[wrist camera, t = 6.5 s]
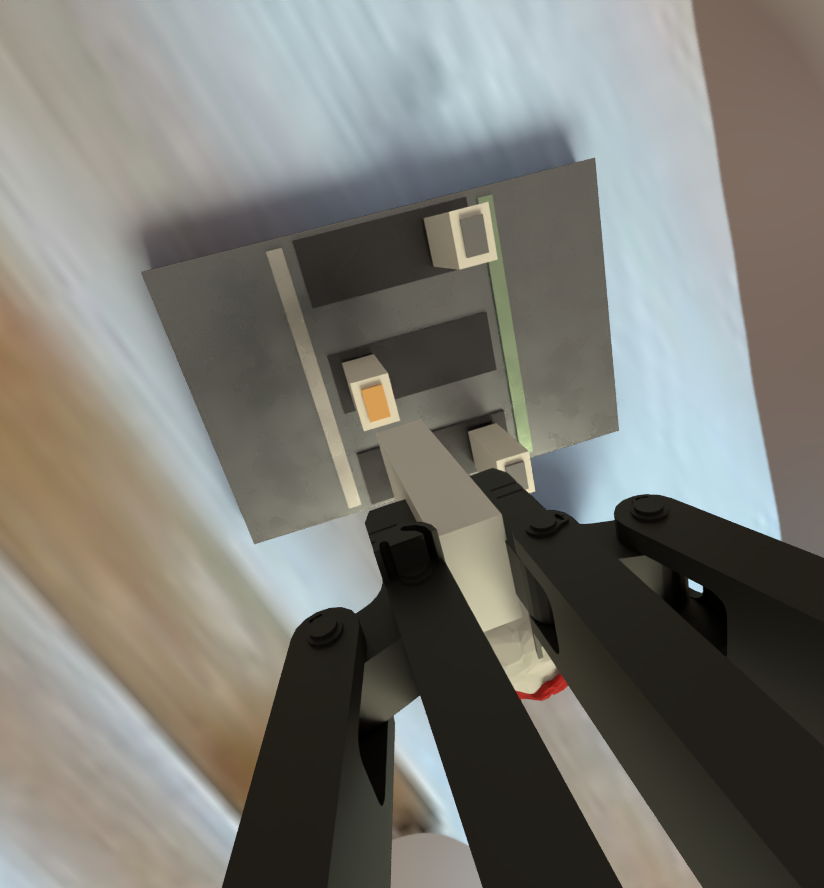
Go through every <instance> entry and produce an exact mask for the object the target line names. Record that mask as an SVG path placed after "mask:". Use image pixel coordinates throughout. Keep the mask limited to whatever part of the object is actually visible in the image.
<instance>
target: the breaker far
mask: <svg viewBox="0 0 824 888" xmlns="http://www.w3.org/2000/svg"><path fill="white" fill-rule="evenodd" d="M468 434H469V439H470V444H471V448H472V453H473V458H474V463H475V467H476V468H477V470H478V471H479V472H482V471H485V470H488V469H491V468H495V469H498V470H501V471H504V472H507V473H508V474H510V475H511V476H512V477H513V478H514V479H515V480H516V482H517V483H519V484H520V485H521V486H522V487H523V488H524V490H526V491H527V492H528V493H532V492H535V486H534V480H533V474H532V468H531V462H530V455H529V451H528V450H527V449H526V448H525V447H523V446H522V445H521V444H520V443H519V442H518V441H516V440H515V439H514V438H513V437H512V436H511V435H509V434H508V433H507V432H506V431H505V430H504V429H502V428H501V427H500V426H499V425H498V424H497V423H495V424H492V425H488V426H485V427H482V428H478V429H475V430H472V431H469V432H468Z"/></svg>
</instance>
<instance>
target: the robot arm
mask: <svg viewBox="0 0 824 888" xmlns="http://www.w3.org/2000/svg"><path fill="white" fill-rule="evenodd" d="M376 436H377V440H378V443H379V447H380V450H381V453H382V457H383V460H384V464H385V467H386V470H387V474H388V477H389V480H390V484H391V487H392V491H393V494H394V497H395V501H396V502H395V503H392V504H389V505H386V506H383V507H380V508H377V509H374V510H371V511H369V513H368V516H367V519H366V521H365V525H366V528H367V531H368V534H369V538H370V541H371V544H372V547H373V550H374V555H375V558H376V561H377V564H378V567H379V570H380V573H381V576H382V581H383V584H382V588H381V590H380V592H379V594H378V595H377V597H376V598H375V599H374V600H373V601H372V602H371V603H370V604H369V605H367V606H366V607H365V608H363V609H362V610H360V611H359V612H357V613H356V614H355V613H354V612H353V611H352V610H349V609H346V608H343V607H337V608H328V609H325V610H322V611H319V612H317V613H315V614H313V615H312V616H310V617H308V618H307V619H305V620H304V621H303V622H302V623H301V624H300V625H299V626H298V627H297V628H296V630H295V632H294V634H293V636H292V638H291V641H290V645H289V648H288V652H287V656H286V659H285V663H284V666H283V670H282V673H281V677H280V681H279V684H278V688H277V691H276V695H275V699H274V702H273V706H272V709H271V713H270V717H269V720H268V724H267V727H266V731H265V735H264V738H263V742H262V745H261V749H260V753H259V756H258V760H257V763H256V767H255V770H254V774H253V778H252V781H251V785H250V788H249V792H248V796H247V799H246V803H245V806H244V810H243V814H242V817H241V821H240V824H239V828H238V832H237V835H236V839H235V842H234V846H233V850H232V853H231V857H230V860H229V864H228V868H227V871H226V875H225V878H224V882H223V885H222V888H390V886H391V884H390V883H391V850H392V813H393V777H394V741H395V721H394V715H395V714H396V713H397V712H399V711H400V710H401V709H403V708H404V707H405V706H407V705H408V704H409V703H411V702H412V701H413V700H414V699H416V698H417V697H418V696H421V699H422V702H423V705H424V708H425V711H426V714H427V717H428V720H429V724H430V727H431V730H432V733H433V736H434V739H435V742H436V745H437V748H438V751H439V754H440V757H441V761H442V764H443V767H444V770H445V773H446V776H447V779H448V782H449V785H450V788H451V791H452V794H453V797H454V801H455V804H456V807H457V810H458V813H459V816H460V819H461V822H462V825H463V828H464V831H465V834H466V837H467V841H468V844H469V847H470V850H471V853H472V856H473V859H474V862H475V865H476V868H477V871H478V874H479V877H480V881H481V884H482V887H483V888H623V887H622V885H621V884H620V882H619V880H618V878H617V876H616V874H615V873H614V871H613V869H612V867H611V865H610V863H609V862H608V860H607V858H606V856H605V854H604V852H603V851H602V849H601V847H600V845H599V843H598V841H597V840H596V838H595V836H594V834H593V832H592V830H591V829H590V827H589V825H588V823H587V821H586V819H585V818H584V816H583V814H582V812H581V810H580V808H579V807H578V805H577V803H576V801H575V799H574V797H573V796H572V794H571V792H570V790H569V788H568V786H567V784H566V783H565V781H564V779H563V777H562V775H561V773H560V772H559V770H558V768H557V766H556V764H555V762H554V761H553V759H552V757H551V755H550V753H549V751H548V750H547V748H546V746H545V744H544V742H543V740H542V739H541V737H540V735H539V733H538V731H537V729H536V728H535V726H534V724H533V722H532V720H531V718H530V717H529V715H528V713H527V711H526V709H525V707H524V706H523V704H522V702H521V700H520V698H519V696H518V695H517V693H516V691H515V689H514V687H513V685H512V683H511V682H510V680H509V678H508V676H507V674H506V672H505V671H504V669H503V667H502V665H501V663H500V661H499V660H498V658H497V656H496V654H495V652H494V650H493V649H492V647H491V645H490V643H489V641H488V639H487V638H486V636H485V634H484V632H485V631H488V630H490V629H493V628H496V627H498V626H501V625H503V624H506V623H509V622H511V621H514V620H517V619H519V618H522V617H523V616H522V611H521V606H520V601H521V602H522V603H523V605H524V606H525V608H526V609H527V611H528V614H529V619H530V624H531V629H532V634H533V639H534V644H535V649H536V653H537V656H538V659H541V658H543V653H542V646H543V648H544V649H545V651H546V652H547V654H548V655H549V657H550V658H551V660H552V661H553V663H554V664H555V666H556V668H557V669H558V671H559V672H560V674H561V675H562V677H563V678H564V680H565V681H566V683H567V684H568V686H569V687H570V689H571V690H572V692H573V693H574V695H575V696H576V698H577V699H578V701H579V702H580V704H581V705H582V707H583V708H584V710H585V711H586V713H587V714H588V716H589V717H590V719H591V720H592V722H593V723H594V725H595V726H596V728H597V729H598V731H599V732H600V734H601V735H602V737H603V738H604V740H605V741H606V743H607V744H608V746H609V747H610V749H611V750H612V752H613V753H614V755H615V756H616V758H617V759H618V761H619V762H620V764H621V765H622V767H623V768H624V770H625V771H626V773H627V774H628V776H629V777H630V779H631V780H632V782H633V783H634V785H635V786H636V788H637V789H638V791H639V792H640V794H641V795H642V797H643V798H644V800H645V801H646V803H647V804H648V806H649V807H650V809H651V810H652V812H653V813H654V815H655V816H656V818H657V819H658V821H659V822H660V824H661V825H662V827H663V828H664V830H665V832H666V833H667V835H668V836H669V838H670V839H671V841H672V842H673V844H674V845H675V847H676V848H677V850H678V851H679V853H680V854H681V856H682V857H683V859H684V860H685V862H686V863H687V865H688V866H689V868H690V869H691V871H692V872H693V874H694V875H695V877H696V878H697V880H698V881H699V883H700V884H701V886H702V887H703V888H824V558H823V557H820V556H818V555H815V554H812V553H810V552H807V551H805V550H802V549H800V548H797V547H794V546H792V545H790V544H787V543H784V542H782V541H779V540H777V539H774V538H772V537H769V536H767V535H764V534H762V533H759V532H756V531H754V530H751V529H749V528H746V527H744V526H741V525H739V524H736V523H734V522H731V521H728V520H726V519H723V518H721V517H718V516H716V515H713V514H711V513H708V512H706V511H703V510H700V509H698V508H695V507H693V506H690V505H688V504H685V503H683V502H680V501H678V500H675V499H672V498H669V497H665V496H661V495H649V494H644V495H637V496H633V497H630V498H628V499H625V500H623V501H621V502H620V503H619V504H618V505H617V506H616V508H615V511H614V519H615V520H613V521H606V522H599V523H591V524H579V523H578V522H577V521H576V520H575V519H574V518H573V517H571V516H569V515H568V514H566V513H564V512H560V511H556V510H546V509H545V508H544V507H543V506H542V505H541V504H540V503H539V502H538V501H536V500H535V499H534V498H533V497H532V496H531V495H530V494H529V493H528V492H527V491H526V490H524V488H523V487H522V486H521V485H520V484H519V483H517V482H516V480H515V479H514V478H513V477H512V476H511V475H510V474H508V473H507V472H504V471H501V470H498V469H495V468H491V469H488V470H485V471H482V472H479V473H476V474H473V475H470V476H469V475H468V474H467V473H466V472H465V470H464V469H463V468H462V467H461V466H460V465H459V463H458V462H457V461H456V460H455V459H454V458H453V456H452V455H451V454H450V453H449V452H448V450H447V449H446V448H445V447H444V446H443V445H442V443H441V442H440V441H439V440H438V439H437V438H436V436H435V435H434V434H433V433H432V432H431V430H430V429H429V428H428V427H427V426H426V425H425V423H424V422H423V421H422V420H421V419H419V420H416V421H413V422H410V423H407V424H404V425H401V426H398V427H394V428H391V429H388V430H385V431H382V432H379V433H376ZM688 578H689V579H690V580H692V581H694V582H696V583H698V584H700V585H702V586H703V593H700V592H697V591H695V590H693V589H691V588H689V586H688ZM519 599H520V601H519Z"/></svg>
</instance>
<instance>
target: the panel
mask: <svg viewBox="0 0 824 888" xmlns="http://www.w3.org/2000/svg"><path fill="white" fill-rule="evenodd" d="M486 202H488V203H489V209H490V215H491V221H492V227H493V233H494V240H495V246H496V252H497V258H498V260H494V261H490V262H486V263H483V264H479V265H475V266H471V267H468V268H464V269H460V270H458V269H450V268H441V267H434V266H433V261H432V256H431V252H430V247H429V242H428V237H427V232H426V228H425V223H424V218H427V217H431V216H435V215H439V214H443V213H447V212H450V211H454V210H458V209H462V208H466V207H470V206H474V205H478V204H482V203H486ZM141 273H142V276H143V278H144V280H145V283H146V285H147V288H148V290H149V292H150V295H151V297H152V300H153V302H154V304H155V307H156V309H157V312H158V314H159V316H160V319H161V321H162V324H163V326H164V328H165V331H166V333H167V336H168V338H169V340H170V343H171V345H172V348H173V350H174V352H175V355H176V357H177V360H178V362H179V364H180V367H181V369H182V372H183V374H184V376H185V379H186V381H187V384H188V386H189V388H190V391H191V393H192V396H193V398H194V400H195V403H196V405H197V408H198V410H199V412H200V415H201V417H202V420H203V422H204V424H205V427H206V429H207V432H208V434H209V436H210V439H211V441H212V444H213V446H214V448H215V451H216V453H217V456H218V458H219V460H220V463H221V465H222V468H223V470H224V472H225V475H226V477H227V480H228V482H229V484H230V487H231V489H232V492H233V494H234V496H235V499H236V501H237V504H238V506H239V508H240V511H241V513H242V516H243V518H244V520H245V523H246V525H247V528H248V530H249V532H250V535H251V537H252V540H253V542H254V544H257V543H260V542H263V541H266V540H270V539H273V538H276V537H279V536H282V535H286V534H289V533H292V532H295V531H298V530H302V529H305V528H308V527H311V526H314V525H318V524H321V523H324V522H327V521H330V520H334V519H337V518H340V517H343V516H346V515H350V514H353V513H356V512H359V511H362V510H366V509H369V508H372V507H375V506H378V505H382V504H385V503H388V502H391V501H394V500H395V497H394V494H393V491H392V487H391V484H390V480H389V477H388V474H387V470H386V467H385V464H384V460H383V457H382V453H381V450H380V447H379V443H378V440H377V436H376V433H379V432H382V431H385V430H388V429H391V428H394V427H398V426H401V425H404V424H407V423H410V422H413V421H416V420H419V419H421V420H422V421H423V422H424V423H425V425H426V426H427V427H428V428H429V429H430V430H431V432H432V433H433V434H434V435H435V436H436V438H437V439H438V440H439V441H440V442H441V443H442V445H443V446H444V447H445V448H446V449H447V450H448V452H449V453H450V454H451V455H452V456H453V458H454V459H455V460H456V461H457V462H458V463H459V465H460V466H461V467H462V468H463V469H464V470H465V472H466V473H467V474H468V475H469V476H470V475H473V474H476V473H479V471H478V470H477V468H476V467H475V463H474V458H473V453H472V448H471V444H470V439H469V434H468V432H469V431H472V430H475V429H478V428H482V427H485V426H488V425H492V424H495V423H497V424H498V425H499V426H500V427H501V428H502V429H504V430H505V431H506V432H507V433H508V434H509V435H511V436H512V437H513V438H514V439H515V440H516V441H518V442H519V443H520V444H521V445H522V446H523V447H525V448H526V449H527V450H528V451H529V455H530V458H532V457H535V456H538V455H542V454H545V453H548V452H551V451H554V450H558V449H561V448H564V447H567V446H570V445H574V444H577V443H580V442H583V441H586V440H590V439H593V438H596V437H599V436H602V435H606V434H609V433H612V432H615V431H619V426H618V415H617V403H616V392H615V380H614V369H613V358H612V346H611V335H610V323H609V312H608V300H607V289H606V278H605V266H604V255H603V243H602V232H601V220H600V209H599V198H598V186H597V175H596V163H595V158H592V159H588V160H584V161H580V162H576V163H572V164H568V165H564V166H560V167H556V168H552V169H548V170H544V171H541V172H537V173H533V174H529V175H525V176H521V177H517V178H513V179H509V180H505V181H501V182H497V183H493V184H489V185H485V186H481V187H477V188H473V189H469V190H465V191H461V192H457V193H453V194H449V195H445V196H441V197H437V198H433V199H429V200H425V201H421V202H417V203H414V204H410V205H406V206H402V207H398V208H394V209H390V210H386V211H382V212H378V213H374V214H370V215H366V216H362V217H358V218H354V219H350V220H346V221H342V222H338V223H334V224H330V225H326V226H322V227H318V228H314V229H310V230H306V231H302V232H298V233H294V234H290V235H286V236H283V237H279V238H275V239H271V240H267V241H263V242H259V243H255V244H251V245H247V246H243V247H239V248H235V249H231V250H227V251H223V252H219V253H215V254H211V255H207V256H203V257H199V258H195V259H191V260H187V261H183V262H179V263H175V264H171V265H167V266H163V267H159V268H156V269H152V270H148V271H144V272H141ZM372 354H374V355H375V357H376V358H377V359H378V361H379V362H380V363H381V365H382V366H383V367H384V369H385V370H386V371H387V373H388V376H389V380H390V383H391V387H392V391H393V395H394V399H395V403H396V406H397V410H398V414H399V418H400V421H397V422H394V423H390V424H387V425H384V426H380V427H377V428H374V429H370V430H367V431H364V430H363V428H362V425H361V422H360V420H359V417H358V414H357V411H356V409H355V406H354V403H353V400H352V396H351V393H350V390H349V386H348V383H347V379H346V376H345V373H344V369H343V366H342V363H344V362H348V361H351V360H355V359H358V358H362V357H365V356H369V355H372Z"/></svg>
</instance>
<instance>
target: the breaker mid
mask: <svg viewBox="0 0 824 888" xmlns="http://www.w3.org/2000/svg"><path fill="white" fill-rule="evenodd" d="M342 366H343V369H344V373H345V376H346V379H347V383H348V386H349V390H350V393H351V396H352V400H353V403H354V406H355V409H356V411H357V414H358V417H359V420H360V422H361V425H362V428H363V430H364V431H367V430H370V429H374V428H377V427H380V426H384V425H387V424H390V423H394V422H397V421H400V418H399V414H398V410H397V406H396V403H395V399H394V395H393V391H392V387H391V383H390V380H389V376H388V373H387V371H386V370H385V369H384V367H383V366H382V365H381V363H380V362H379V361H378V359H377V358H376V357H375V355H374V354H372V355H369V356H365V357H362V358H358V359H355V360H351V361H348V362H344V363H342Z"/></svg>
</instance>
